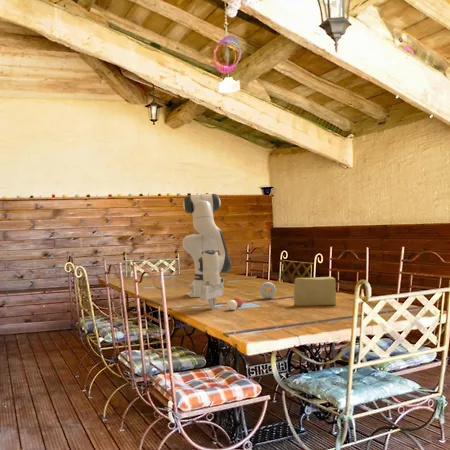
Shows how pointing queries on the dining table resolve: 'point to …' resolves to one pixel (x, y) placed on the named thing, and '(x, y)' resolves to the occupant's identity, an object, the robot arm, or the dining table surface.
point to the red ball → (238, 301)
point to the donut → (267, 285)
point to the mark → (248, 306)
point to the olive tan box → (315, 291)
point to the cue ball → (231, 304)
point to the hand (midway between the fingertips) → (212, 306)
